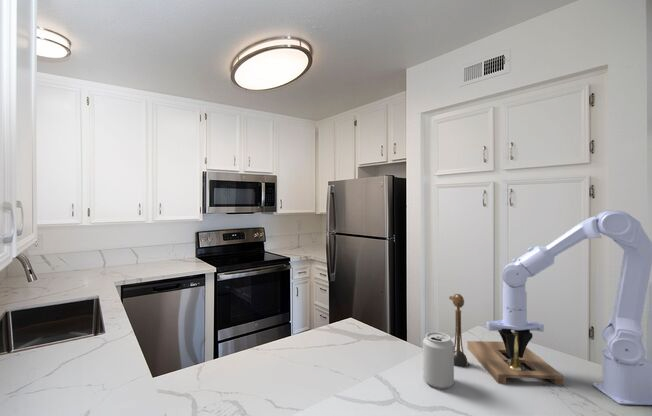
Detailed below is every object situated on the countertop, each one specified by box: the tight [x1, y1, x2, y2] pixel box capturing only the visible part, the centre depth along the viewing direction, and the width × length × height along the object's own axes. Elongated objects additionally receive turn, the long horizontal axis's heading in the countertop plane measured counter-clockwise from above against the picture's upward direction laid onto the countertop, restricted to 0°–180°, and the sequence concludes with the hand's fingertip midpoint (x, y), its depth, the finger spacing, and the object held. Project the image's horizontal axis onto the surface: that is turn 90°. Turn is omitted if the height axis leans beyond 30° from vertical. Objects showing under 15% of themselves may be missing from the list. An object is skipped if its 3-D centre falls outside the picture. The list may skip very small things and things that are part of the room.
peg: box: [507, 331, 524, 371], centre depth 88 cm, size 4×4×10 cm
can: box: [422, 331, 455, 389], centre depth 82 cm, size 8×8×12 cm
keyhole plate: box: [466, 340, 564, 386], centre depth 91 cm, size 16×20×2 cm
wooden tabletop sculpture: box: [448, 293, 468, 368], centre depth 92 cm, size 6×5×20 cm
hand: (514, 356), depth 88 cm, fingers closed on peg, 2 cm apart
